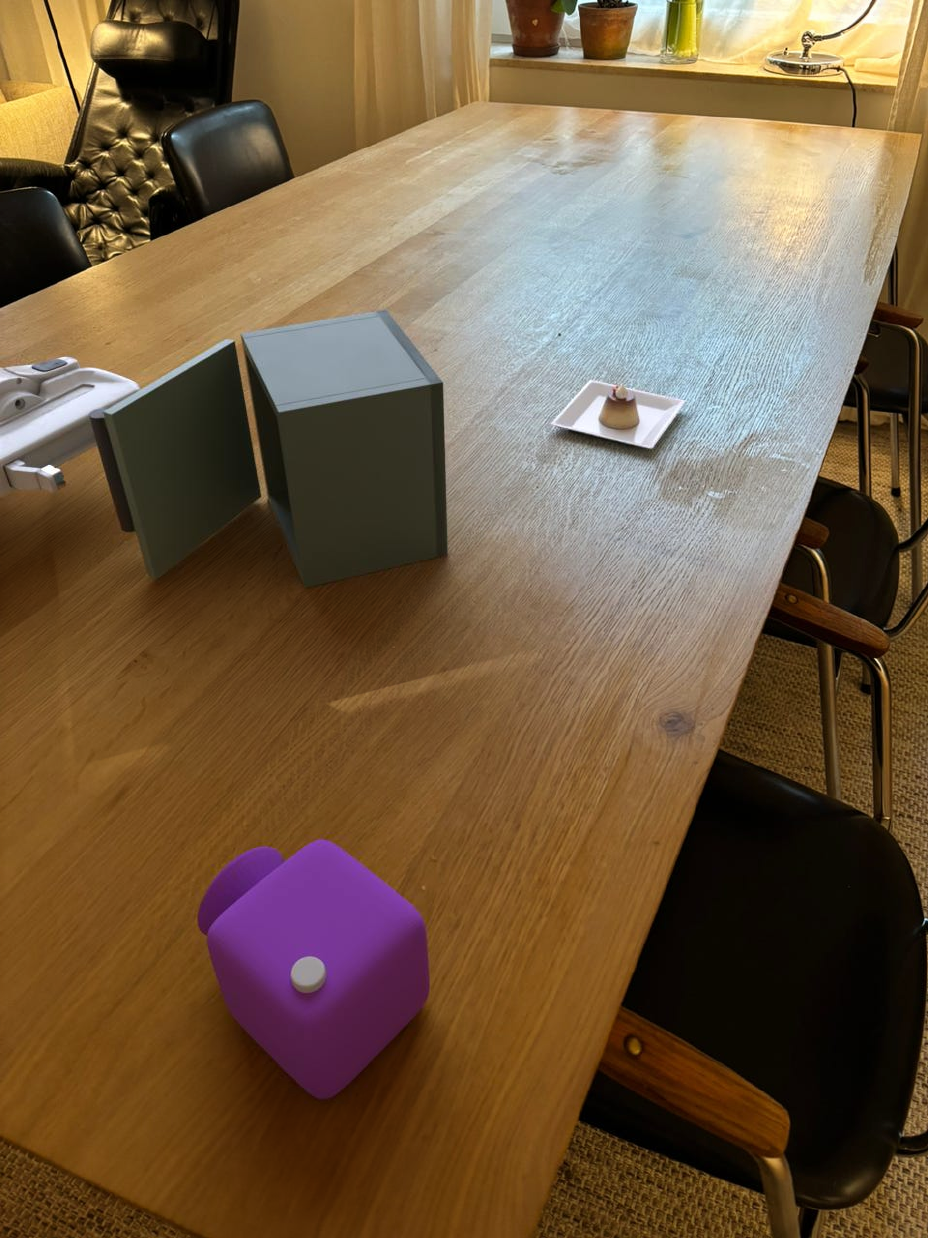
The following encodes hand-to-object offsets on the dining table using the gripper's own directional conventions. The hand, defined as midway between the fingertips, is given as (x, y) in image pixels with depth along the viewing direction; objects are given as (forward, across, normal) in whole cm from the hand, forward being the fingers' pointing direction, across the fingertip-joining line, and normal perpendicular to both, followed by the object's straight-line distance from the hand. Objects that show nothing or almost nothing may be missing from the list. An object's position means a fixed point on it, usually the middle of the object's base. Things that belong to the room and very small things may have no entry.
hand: (100, 459), depth 91 cm
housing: (+17, +14, +9) cm, 24 cm away
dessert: (+29, +48, +10) cm, 57 cm away
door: (+4, +5, +9) cm, 11 cm away
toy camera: (+46, -26, +9) cm, 54 cm away
